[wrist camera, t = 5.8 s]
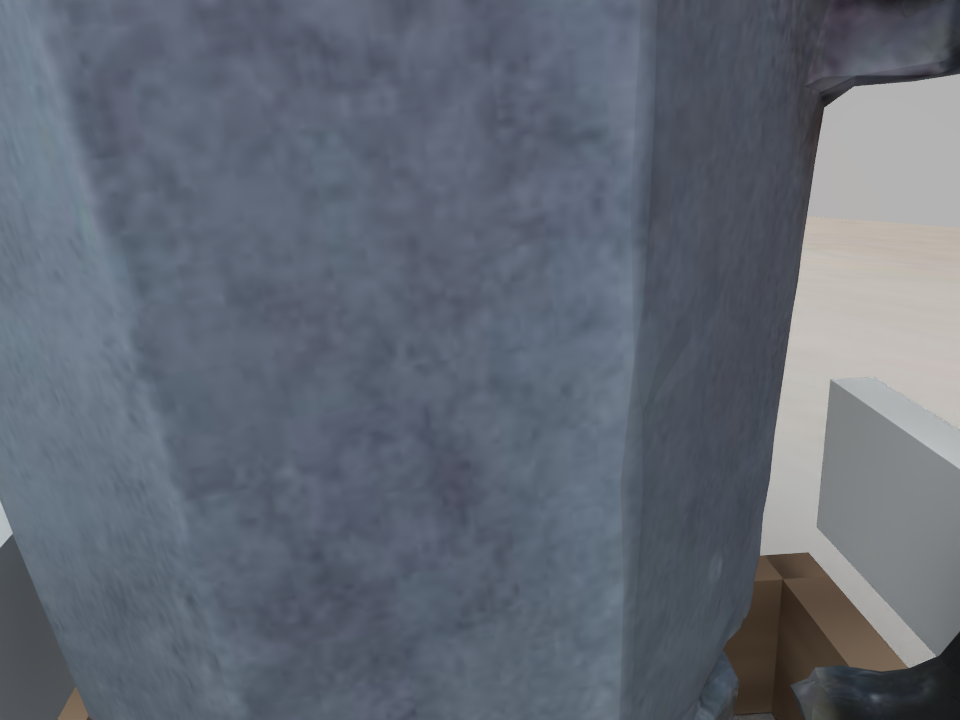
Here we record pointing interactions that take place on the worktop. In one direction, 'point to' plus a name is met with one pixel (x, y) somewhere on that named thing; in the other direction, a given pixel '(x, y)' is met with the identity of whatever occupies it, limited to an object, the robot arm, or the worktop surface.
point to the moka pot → (416, 346)
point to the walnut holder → (773, 638)
